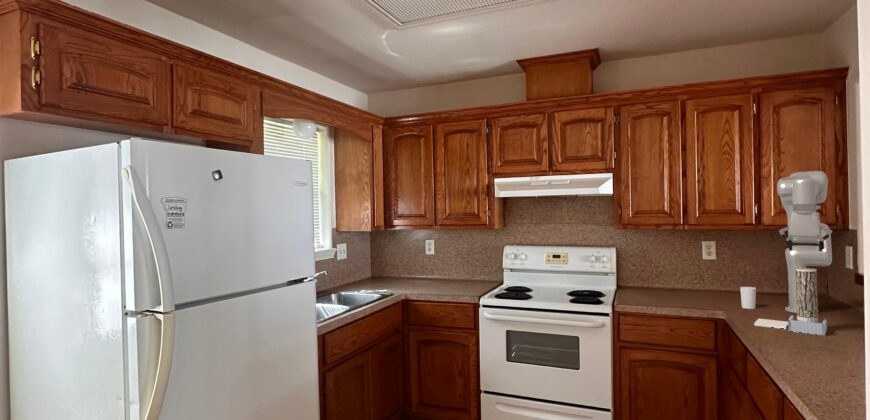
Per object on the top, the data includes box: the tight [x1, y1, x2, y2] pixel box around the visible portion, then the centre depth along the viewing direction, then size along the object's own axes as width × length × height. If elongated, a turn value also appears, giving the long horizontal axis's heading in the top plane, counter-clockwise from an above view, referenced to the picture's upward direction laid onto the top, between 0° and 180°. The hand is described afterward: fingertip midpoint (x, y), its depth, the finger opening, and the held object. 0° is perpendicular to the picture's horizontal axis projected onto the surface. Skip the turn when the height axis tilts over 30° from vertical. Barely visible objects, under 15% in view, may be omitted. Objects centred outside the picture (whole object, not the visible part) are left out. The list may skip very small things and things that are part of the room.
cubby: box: [787, 315, 828, 336], centre depth 195 cm, size 11×12×4 cm
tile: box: [753, 318, 788, 330], centre depth 206 cm, size 11×11×1 cm
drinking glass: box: [739, 286, 757, 310], centre depth 241 cm, size 7×7×10 cm
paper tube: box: [796, 267, 819, 323], centre depth 195 cm, size 7×7×25 cm
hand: (805, 250), depth 195 cm, fingers open, 9 cm apart
